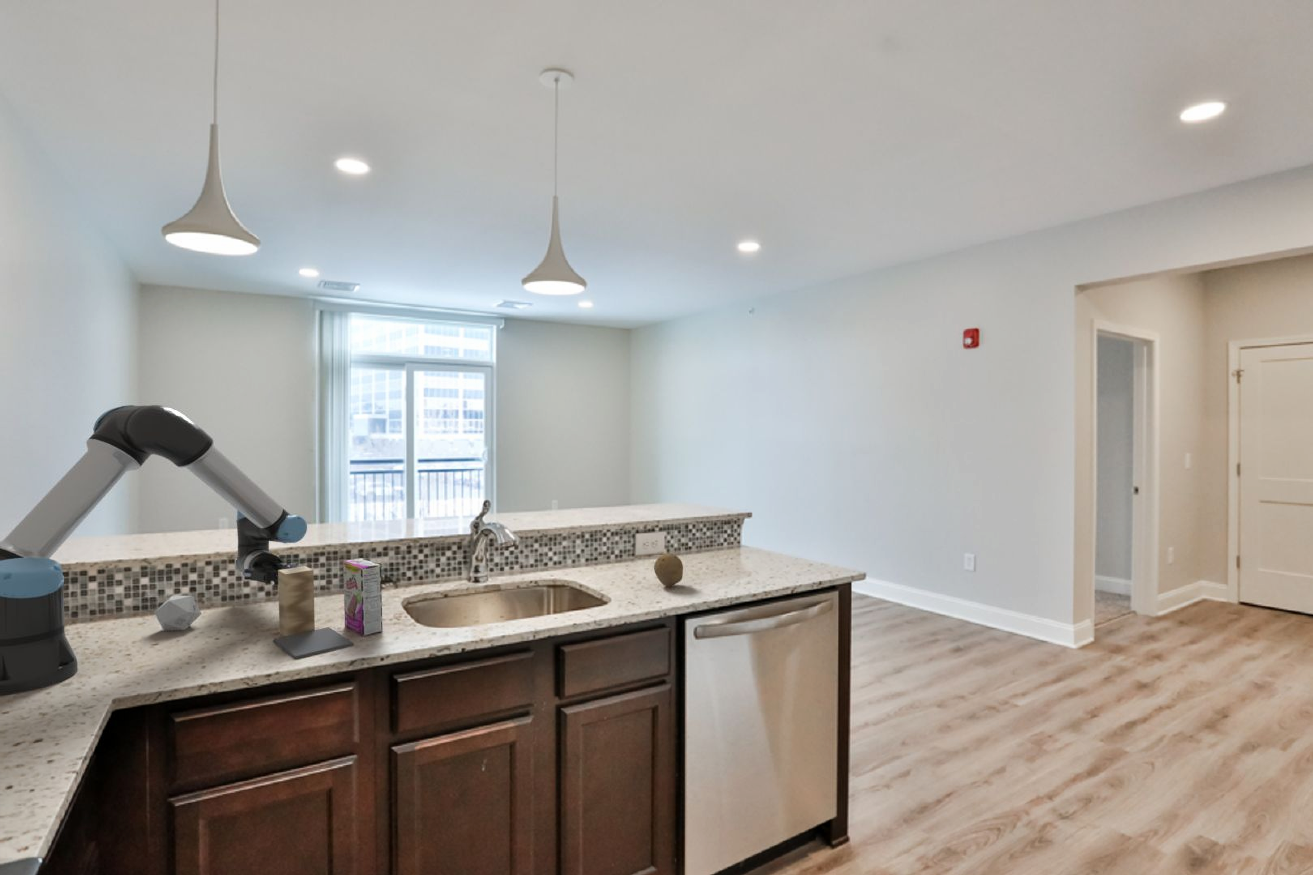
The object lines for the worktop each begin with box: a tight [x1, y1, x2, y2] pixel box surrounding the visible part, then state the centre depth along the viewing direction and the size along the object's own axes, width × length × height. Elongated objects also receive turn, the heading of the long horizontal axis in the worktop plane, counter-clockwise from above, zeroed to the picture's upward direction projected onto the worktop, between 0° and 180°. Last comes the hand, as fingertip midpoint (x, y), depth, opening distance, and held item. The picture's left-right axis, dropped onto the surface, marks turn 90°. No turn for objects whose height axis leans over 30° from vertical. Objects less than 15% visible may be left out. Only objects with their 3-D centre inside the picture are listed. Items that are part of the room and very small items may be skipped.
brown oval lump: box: [653, 552, 684, 588], centre depth 198 cm, size 9×9×10 cm
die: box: [153, 595, 202, 632], centre depth 161 cm, size 8×9×10 cm
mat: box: [272, 626, 355, 660], centre depth 149 cm, size 12×16×1 cm
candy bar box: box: [342, 557, 384, 637], centre depth 159 cm, size 11×5×16 cm, turn 47°
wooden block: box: [277, 565, 316, 637], centre depth 157 cm, size 6×6×15 cm
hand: (291, 580), depth 161 cm, fingers closed
